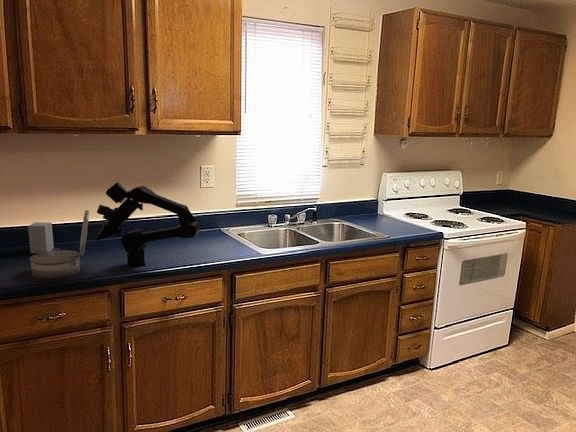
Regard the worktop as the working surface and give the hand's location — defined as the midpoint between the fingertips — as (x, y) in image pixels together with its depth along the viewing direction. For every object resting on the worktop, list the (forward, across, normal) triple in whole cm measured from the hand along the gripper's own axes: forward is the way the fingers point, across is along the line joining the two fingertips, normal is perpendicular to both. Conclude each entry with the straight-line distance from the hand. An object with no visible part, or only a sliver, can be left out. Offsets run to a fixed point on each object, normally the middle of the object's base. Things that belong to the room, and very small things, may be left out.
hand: (96, 239), depth 190 cm
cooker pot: (+19, -4, -3) cm, 20 cm away
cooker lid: (+1, 0, -6) cm, 6 cm away
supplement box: (+24, -33, -7) cm, 41 cm away
